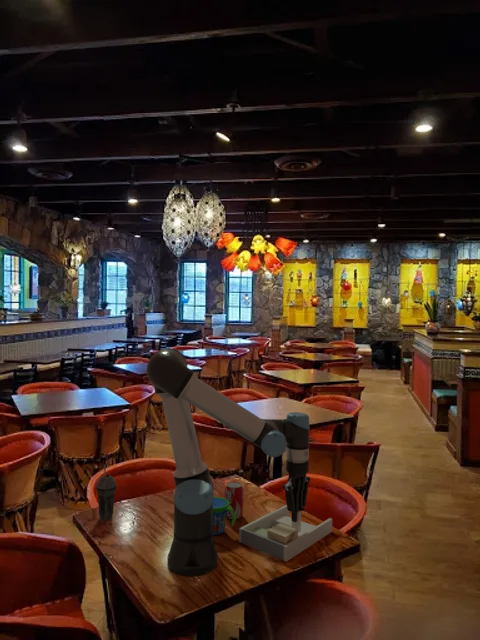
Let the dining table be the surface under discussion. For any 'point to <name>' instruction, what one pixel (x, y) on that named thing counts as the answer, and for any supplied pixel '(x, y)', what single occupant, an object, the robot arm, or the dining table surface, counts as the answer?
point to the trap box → (257, 539)
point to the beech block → (282, 533)
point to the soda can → (234, 498)
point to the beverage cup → (106, 496)
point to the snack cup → (221, 515)
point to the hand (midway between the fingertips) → (296, 530)
